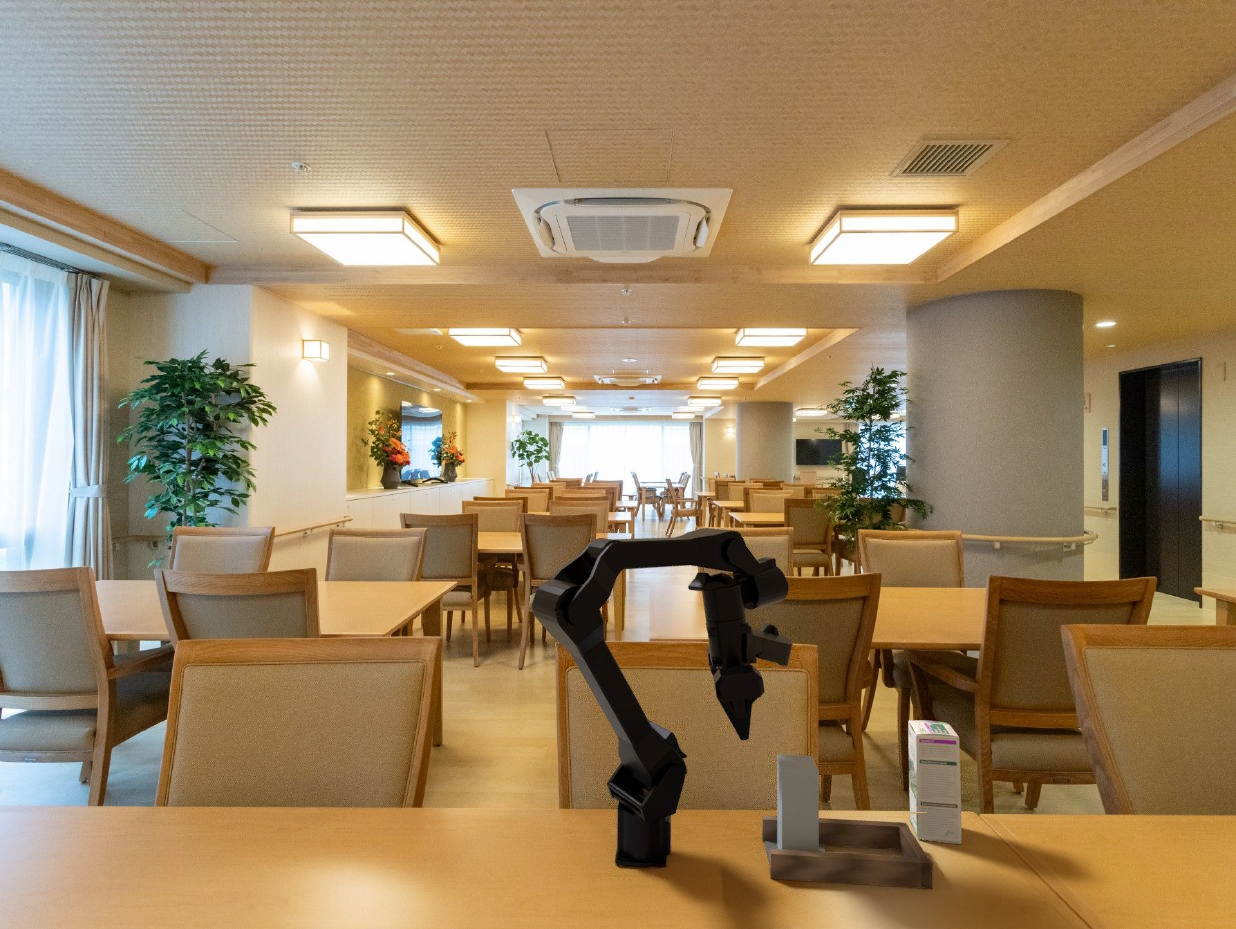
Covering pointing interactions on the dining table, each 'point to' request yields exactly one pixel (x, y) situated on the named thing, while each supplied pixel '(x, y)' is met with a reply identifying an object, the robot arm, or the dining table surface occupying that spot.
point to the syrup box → (934, 781)
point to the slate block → (797, 803)
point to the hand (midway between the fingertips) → (740, 727)
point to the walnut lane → (852, 855)
